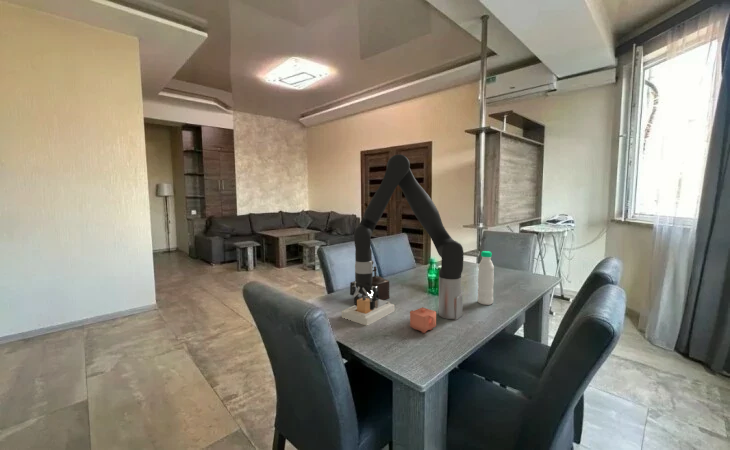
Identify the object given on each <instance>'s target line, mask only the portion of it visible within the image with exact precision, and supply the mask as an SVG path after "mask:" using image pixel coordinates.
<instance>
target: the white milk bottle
mask: <svg viewBox="0 0 730 450" xmlns="http://www.w3.org/2000/svg"><path fill="white" fill-rule="evenodd" d="M492 255H493V254H492V251H489V250H487V251H486V250H482V251H481V252H480V256H481V260H480V262H479V264H478V265H477V267H478V273H477V303H479V304H480V305H484V306H489V305H492V304H493V303H494V284H495V281H494V279H495V274H494V273H495V272H494V270H495V266H494V263H493V260H491V259H492Z"/></svg>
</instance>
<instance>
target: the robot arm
mask: <svg viewBox="0 0 730 450" xmlns="http://www.w3.org/2000/svg"><path fill="white" fill-rule="evenodd" d="M410 167H411V164H410V160H409V159H408V157H407V156H405V155H404V154H397V153H396V154H394V155H392V156H391V157H390V158H389V159H388V160H387V161H386V170H385V173H384V176H383V179H382V181H381V183H380V185H379V186H378V188H377V190H376V191H375V193H374V195H373V196H372V197H371V200H370V201H369V203H368V205H367V207H366V209H365V210H364V213H363V216H362V218H361V221H360V222H359V224H358V226H357V227H356V228H355V229H354V232H353V240H354V241H353V242H354V246H355V251H354V253H355V254H354V255H355V256H354V257H355V259H354V260H355V263H354V280H353V281H351V282H350V283H349V286H350V287H349V295H350V296H352V297H353V304H354V305H355V306H357V300H359V299H360V295H362V294H364V295H366V296H367V297H368V298H369V300H370V310H373V309H374V308H375V301H377V300H379V289H378V286H372V281H373V276H374V275H373V274H374V273H373V272H374V271H372V270H373V268H372V261H373V256H372V255H373V254H372V249H371V237H372V235H373V233H374V230H375V228H376V227H377V224H378V222H379V221H380V220H381V217H382V216H383V214H384V212H385V210H386V208H387V206H388V204H389V202H390V199H391V198H392V196H393V194H394V192H395V190H396V188H397V187H398V186H399V188H400V190H401V191H402V193H403V195H404V197H405V199H406V201H407V203H408V205H409V207H410V209H411V211H412V213H413V214H414V216H415V217H416V219H417V221H418V223H420V224H421V226H422V228H423V229H424V230H425V231H426V233H427V234H428V236H429V237H430V239H431V241H432V243H433V246H434V247H435V249H436V252H437V253H438V255H439V257H440V258H441V263H440V264H441V266H440V269H439V270H438V316H439V317H440V318H443V319H447V320H459V319H460V318H461V317H462V316H463V301H464V299H463V293H462V273H463V269H464V257H465V256H464V247H463V244H461V243H460V242H458V241H456V240H454V239H453V238H452V236H451V235H450V234H449V233H448V231H447V230H446V227H445V226H444V224H443V221H442V219H441V218H442V217H441V215H440V213H439V210H438V207H437V206H436V205H435V203H434V201H433V200H432V198H431V197H430V195H429V194H428V193H427V192H426V190H425V189H424V188H423V187H422V186H421V184H419V182H418V180H417V179H416V178H415V176H414V174H413V172H412V170H411V168H410ZM369 293H370V294H369Z"/></svg>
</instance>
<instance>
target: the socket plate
mask: <svg viewBox="0 0 730 450" xmlns="http://www.w3.org/2000/svg"><path fill="white" fill-rule="evenodd" d="M379 300H380V299H379ZM381 301H385V302H387V304H385V305H383V306H381V307H379V308H376V307H375V308H374V309H373V310H372V311H370V312H368V313H366V314H365V313H361V312H358V311H357V306H355V304H354V305H353V306H349V307H347V308H346V309H343V310H341V318H342V319H344V318H345V320H347V319H348V320H347V321H350V320H351V321H350V322H353V323H357V324H359V325H360V324H361V325H363V326H366V327H367V325H368V326H369V325H371V324H373V323H375V322H377V321H379V320H380V319H382V318H385V317H386V316H388V315H390V314H391V313H394V312H395V311H396V310H395V304H393V303H391V301H387V300H381Z"/></svg>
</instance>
